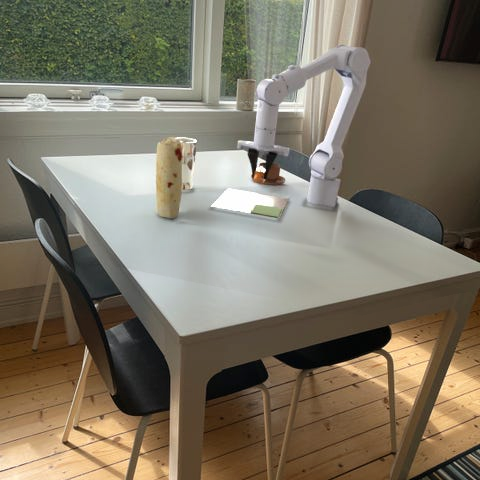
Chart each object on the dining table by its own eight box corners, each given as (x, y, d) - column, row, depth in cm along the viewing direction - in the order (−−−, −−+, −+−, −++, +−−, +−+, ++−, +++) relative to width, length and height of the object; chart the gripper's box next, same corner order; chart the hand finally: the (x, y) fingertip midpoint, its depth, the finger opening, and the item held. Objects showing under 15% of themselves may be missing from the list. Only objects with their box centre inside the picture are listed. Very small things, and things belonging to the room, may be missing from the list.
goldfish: (257, 177, 143) (258, 163, 141) (266, 179, 143) (268, 165, 141) (252, 183, 138) (254, 168, 136) (261, 184, 137) (263, 170, 135)
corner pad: (282, 209, 143) (282, 208, 143) (277, 217, 136) (277, 216, 136) (255, 204, 144) (255, 203, 144) (250, 212, 137) (250, 211, 137)
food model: (184, 221, 129) (187, 143, 118) (159, 221, 127) (160, 142, 116) (177, 208, 137) (179, 134, 126) (153, 208, 135) (154, 133, 124)
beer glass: (196, 187, 155) (198, 139, 148) (192, 194, 149) (194, 143, 142) (174, 185, 156) (176, 136, 148) (170, 191, 150) (171, 140, 142)
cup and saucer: (285, 189, 164) (288, 171, 160) (250, 186, 163) (252, 167, 160) (283, 180, 174) (286, 162, 171) (250, 176, 173) (252, 159, 170)
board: (288, 201, 153) (289, 198, 152) (278, 221, 136) (279, 218, 135) (227, 191, 156) (228, 188, 155) (210, 209, 139) (210, 206, 138)
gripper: (236, 126, 130) (232, 176, 137) (289, 134, 128) (282, 185, 135) (242, 122, 136) (237, 171, 143) (293, 130, 134) (285, 179, 141)
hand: (259, 177), depth 140 cm, fingers closed on goldfish, 3 cm apart
